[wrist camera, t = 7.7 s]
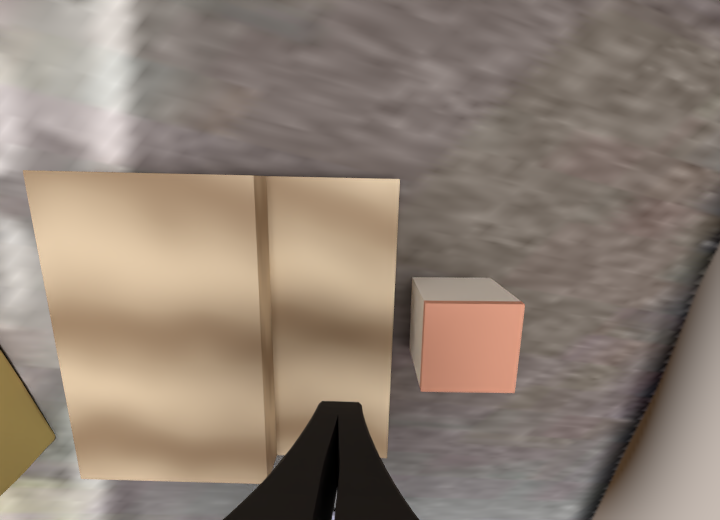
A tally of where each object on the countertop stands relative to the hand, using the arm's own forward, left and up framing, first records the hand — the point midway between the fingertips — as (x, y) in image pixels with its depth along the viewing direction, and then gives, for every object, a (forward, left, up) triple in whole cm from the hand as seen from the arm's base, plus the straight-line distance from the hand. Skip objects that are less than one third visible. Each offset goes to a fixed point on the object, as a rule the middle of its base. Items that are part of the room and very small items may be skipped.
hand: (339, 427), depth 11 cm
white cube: (0, -6, -5) cm, 8 cm away
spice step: (0, +6, -9) cm, 11 cm away
